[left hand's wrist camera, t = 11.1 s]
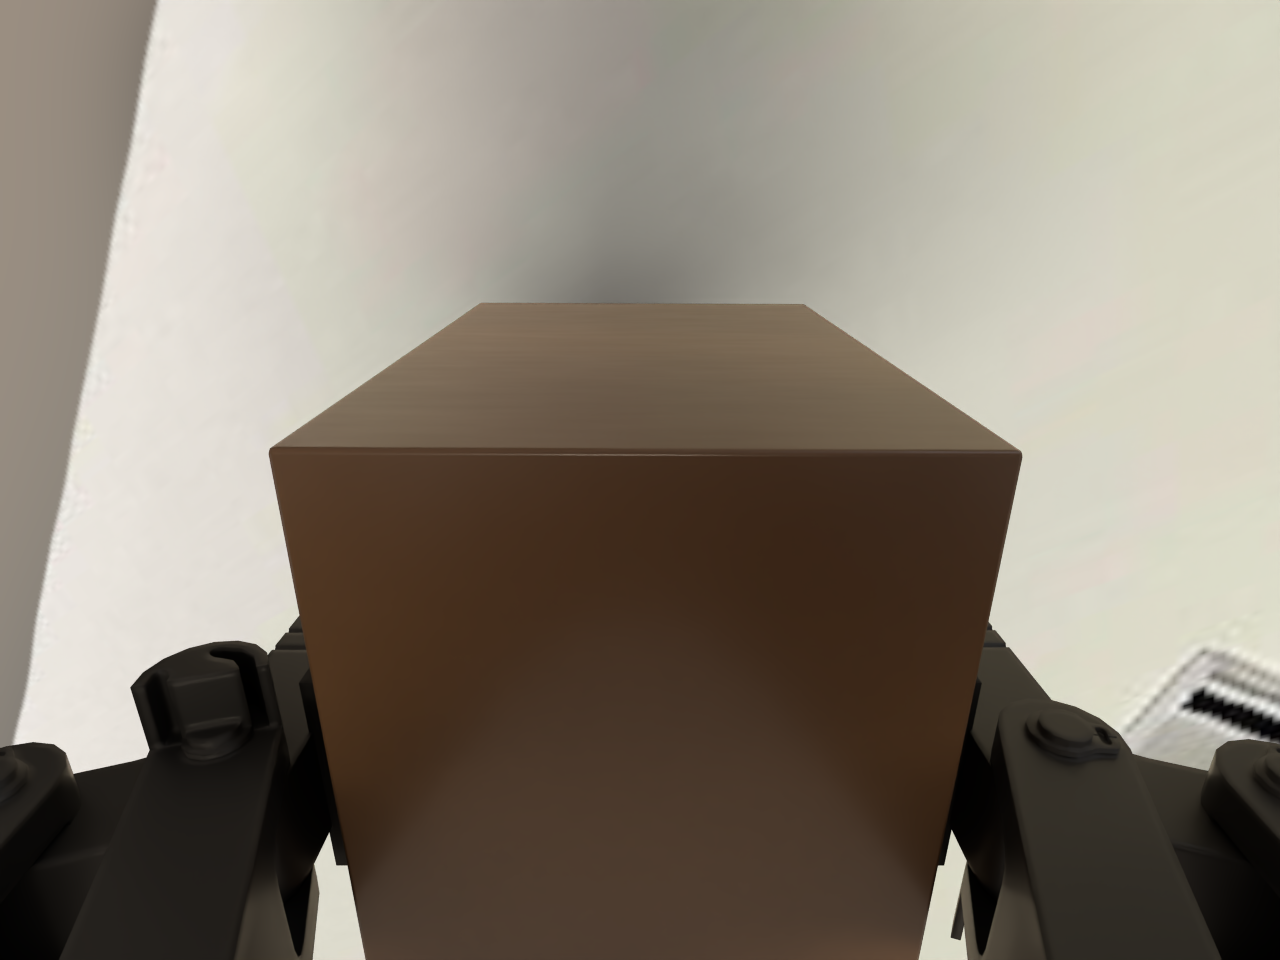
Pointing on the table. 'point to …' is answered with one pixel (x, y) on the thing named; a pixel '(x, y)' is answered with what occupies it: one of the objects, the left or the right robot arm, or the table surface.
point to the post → (643, 633)
